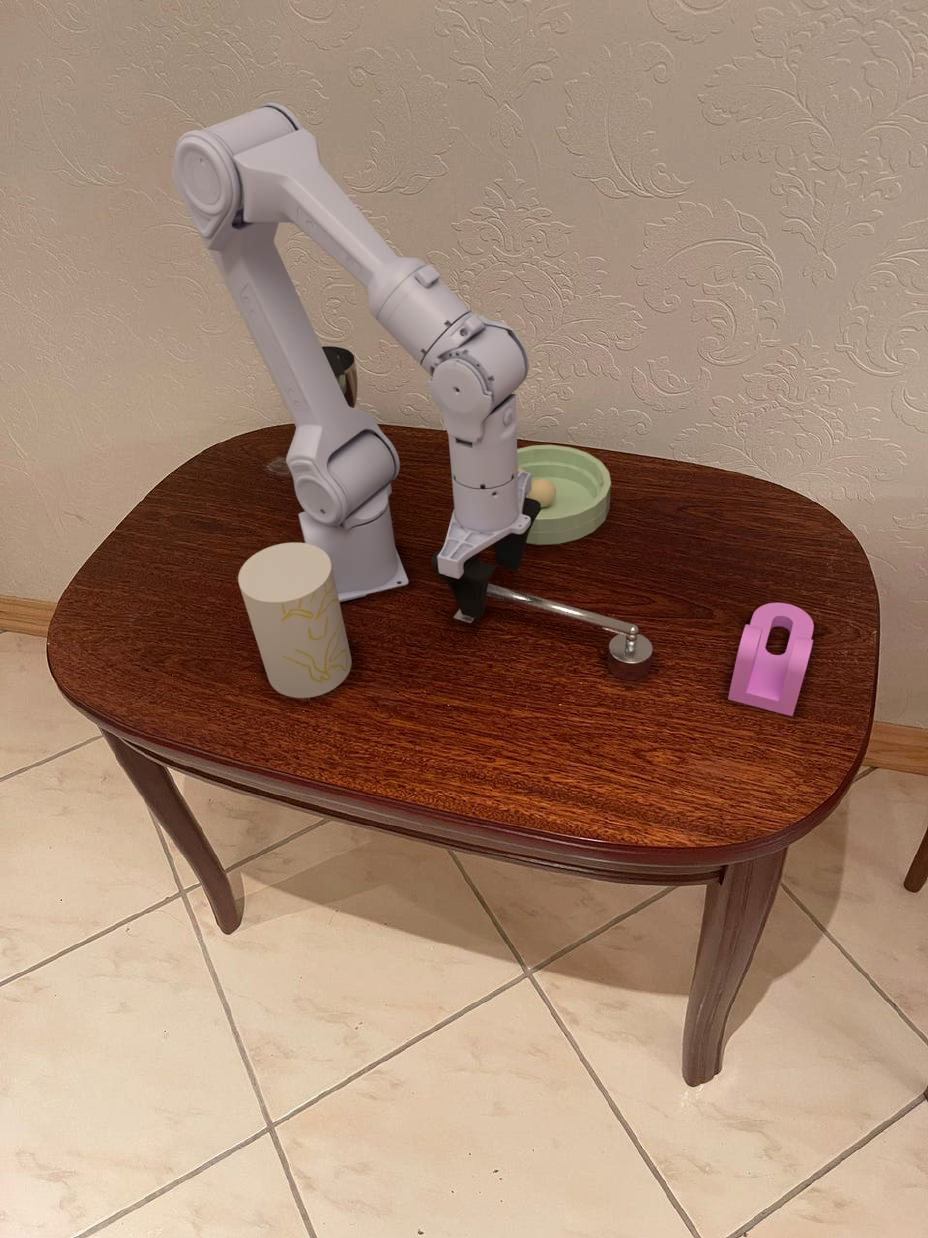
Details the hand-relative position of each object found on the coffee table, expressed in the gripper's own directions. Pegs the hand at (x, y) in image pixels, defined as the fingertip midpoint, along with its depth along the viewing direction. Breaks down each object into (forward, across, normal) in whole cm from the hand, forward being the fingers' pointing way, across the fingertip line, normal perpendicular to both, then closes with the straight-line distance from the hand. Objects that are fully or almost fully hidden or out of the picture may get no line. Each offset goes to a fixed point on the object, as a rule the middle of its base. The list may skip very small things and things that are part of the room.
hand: (490, 590), depth 85 cm
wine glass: (+5, +16, +30) cm, 34 cm away
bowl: (+5, +20, +4) cm, 21 cm away
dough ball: (+1, +19, +4) cm, 19 cm away
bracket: (+5, +7, -26) cm, 27 cm away
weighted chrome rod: (+5, 0, -5) cm, 7 cm away
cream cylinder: (+5, -13, +13) cm, 19 cm away
